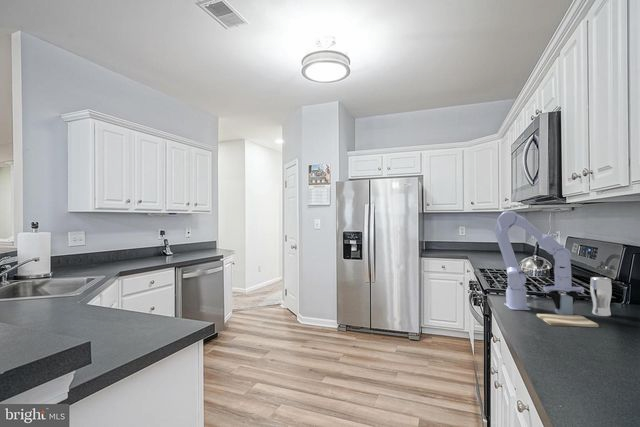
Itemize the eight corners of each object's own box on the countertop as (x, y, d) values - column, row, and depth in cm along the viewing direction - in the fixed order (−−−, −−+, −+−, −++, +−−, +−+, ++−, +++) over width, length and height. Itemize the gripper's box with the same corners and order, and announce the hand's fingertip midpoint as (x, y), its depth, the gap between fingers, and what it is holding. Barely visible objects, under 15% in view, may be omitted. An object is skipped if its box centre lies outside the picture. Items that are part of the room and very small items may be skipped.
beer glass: (589, 311, 144) (588, 276, 144) (610, 313, 141) (609, 277, 141) (592, 315, 138) (591, 279, 138) (614, 317, 135) (613, 280, 135)
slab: (554, 312, 144) (554, 293, 144) (565, 312, 143) (564, 293, 143) (562, 316, 138) (561, 296, 138) (573, 316, 137) (572, 297, 137)
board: (536, 316, 139) (536, 313, 139) (580, 317, 136) (579, 315, 136) (550, 325, 127) (550, 322, 127) (598, 327, 124) (598, 324, 124)
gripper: (548, 278, 138) (549, 311, 138) (588, 278, 135) (588, 312, 135) (540, 275, 145) (541, 306, 145) (578, 275, 142) (579, 307, 142)
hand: (563, 309), depth 140 cm, fingers closed on slab, 4 cm apart
